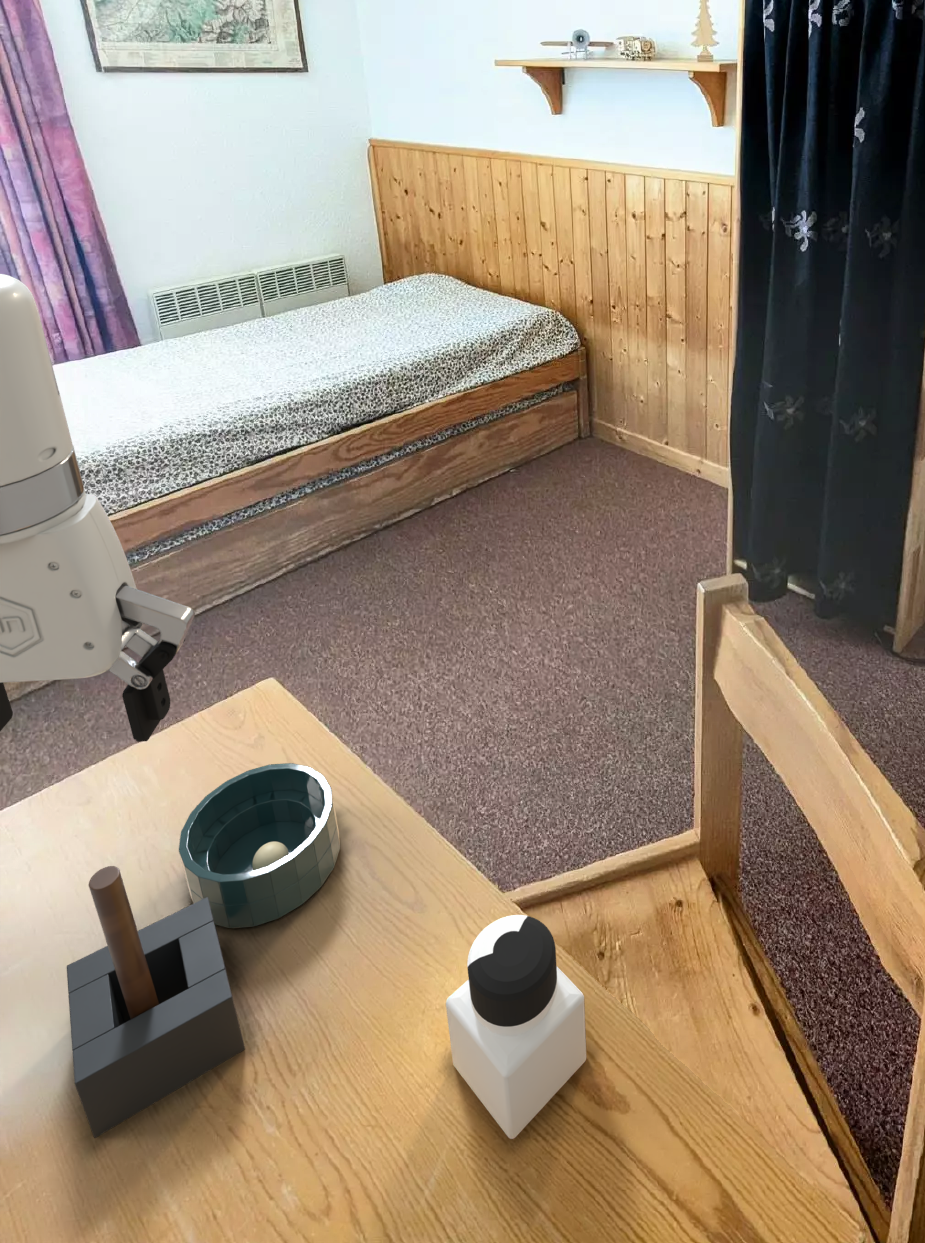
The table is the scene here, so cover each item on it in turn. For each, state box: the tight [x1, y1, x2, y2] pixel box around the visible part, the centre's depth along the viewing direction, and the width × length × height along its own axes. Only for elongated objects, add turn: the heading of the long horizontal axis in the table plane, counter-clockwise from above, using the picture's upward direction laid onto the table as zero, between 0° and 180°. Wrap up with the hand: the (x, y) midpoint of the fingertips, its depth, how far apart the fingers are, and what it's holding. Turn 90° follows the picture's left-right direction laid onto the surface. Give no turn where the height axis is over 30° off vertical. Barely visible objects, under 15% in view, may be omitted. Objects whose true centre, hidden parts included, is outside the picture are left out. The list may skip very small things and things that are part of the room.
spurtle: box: [88, 865, 159, 1019], centre depth 61 cm, size 2×2×18 cm
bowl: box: [178, 762, 341, 929], centre depth 77 cm, size 12×12×6 cm
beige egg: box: [252, 842, 289, 871], centre depth 77 cm, size 3×3×3 cm
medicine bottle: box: [445, 914, 587, 1140], centre depth 61 cm, size 7×7×12 cm
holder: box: [66, 897, 246, 1139], centre depth 64 cm, size 10×10×6 cm
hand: (73, 729), depth 55 cm, fingers open, 9 cm apart
